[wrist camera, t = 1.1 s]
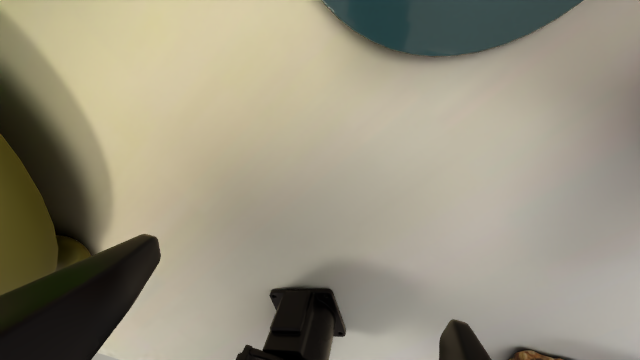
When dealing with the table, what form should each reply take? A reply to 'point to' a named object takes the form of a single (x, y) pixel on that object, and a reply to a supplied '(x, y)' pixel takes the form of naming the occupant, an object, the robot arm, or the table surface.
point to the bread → (530, 356)
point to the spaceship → (28, 229)
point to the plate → (446, 22)
